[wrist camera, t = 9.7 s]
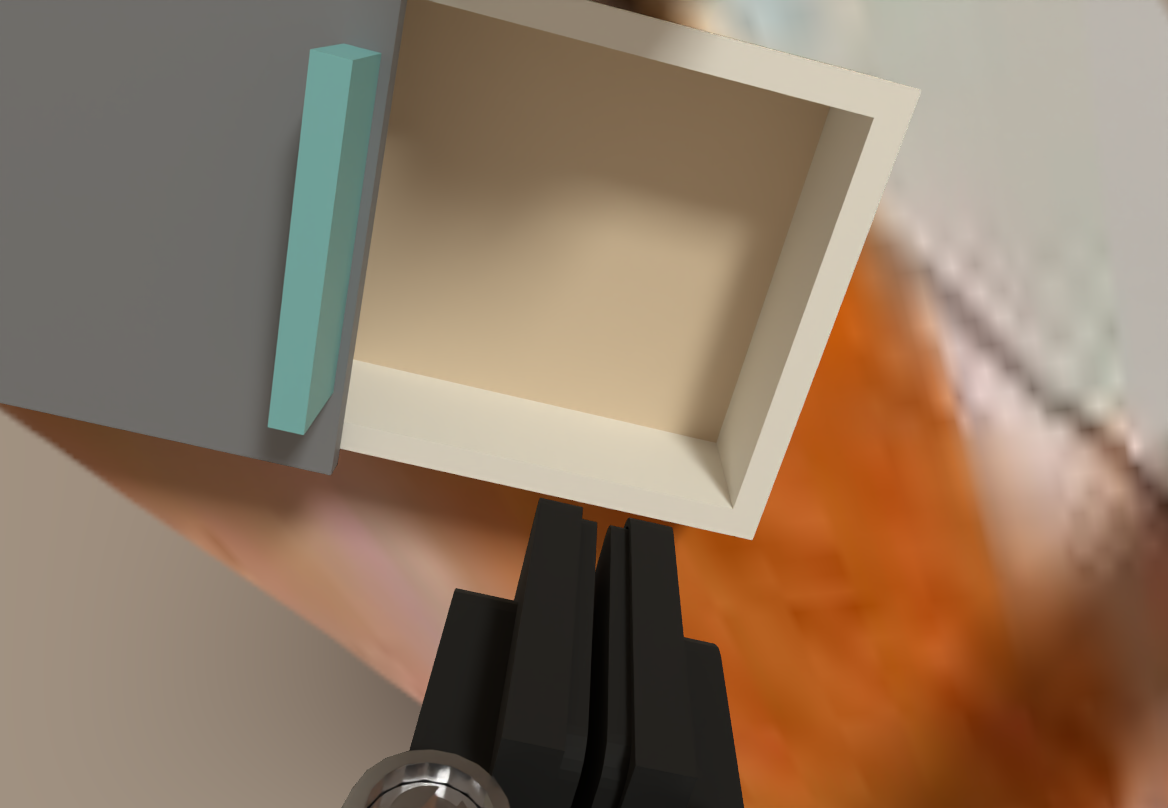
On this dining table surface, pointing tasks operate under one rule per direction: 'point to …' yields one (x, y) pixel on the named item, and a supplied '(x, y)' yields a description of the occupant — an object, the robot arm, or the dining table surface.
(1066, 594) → the dining table surface
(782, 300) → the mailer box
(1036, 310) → the dining table surface
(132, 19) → the lid
